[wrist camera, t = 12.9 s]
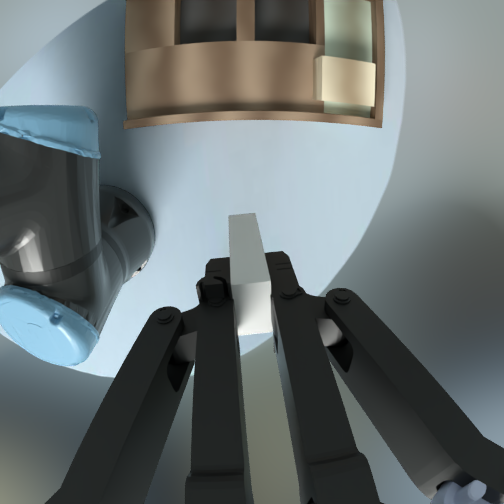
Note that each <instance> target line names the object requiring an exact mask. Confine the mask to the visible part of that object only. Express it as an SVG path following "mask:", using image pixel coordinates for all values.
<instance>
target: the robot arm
mask: <svg viewBox="0 0 504 504" xmlns="http://www.w3.org/2000/svg"><path fill="white" fill-rule="evenodd" d="M100 158H101V153H100V152H99V142H98V119H97V116H96V114H95V113H94V112H93V111H92V110H91V109H90V108H87V107H85V106H69V105H23V106H3V107H0V265H1V269H2V272H3V276H4V279H5V285H4V286H2V287H1V288H0V324H1V326H2V327H3V329H4V330H5V331H6V333H7V334H8V335H9V336H10V337H11V338H12V339H13V340H14V341H15V342H16V343H17V344H18V345H19V346H21V347H22V348H23V349H25V350H26V351H28V352H29V353H31V354H32V355H34V356H36V357H38V358H40V359H42V360H44V361H47V362H49V363H52V364H56V365H60V366H75V365H78V364H79V363H82V362H84V361H85V360H86V359H87V358H88V357H89V355H90V354H91V352H92V350H93V349H94V347H95V345H96V344H97V343H98V341H99V338H100V337H99V336H100V333H101V331H102V329H103V326H104V324H105V322H106V320H107V317H108V315H109V313H110V311H111V308H112V306H113V304H114V302H115V300H116V298H117V296H118V293H119V291H120V289H121V287H122V285H123V284H124V283H126V282H127V281H129V280H130V279H131V278H132V277H134V276H135V275H137V274H138V273H139V272H140V271H141V270H142V269H143V268H144V267H145V265H146V264H147V262H148V260H149V258H150V256H151V253H152V251H153V247H154V241H155V234H154V228H153V224H152V221H151V218H150V216H149V214H148V212H147V211H146V209H145V208H144V206H143V205H142V204H141V203H140V202H139V201H138V200H137V199H136V198H135V197H134V196H133V195H131V194H130V193H128V192H126V191H125V190H122V189H120V188H117V187H114V186H107V185H100V186H99V159H100ZM229 247H230V257H226V258H215V259H210V260H209V262H208V263H207V264H206V270H205V277H203V278H201V279H200V280H199V281H198V282H197V284H196V289H197V294H198V298H199V305H198V306H197V307H195V308H193V309H191V310H188V311H185V312H182V313H181V312H180V310H179V309H177V308H175V307H171V306H170V307H162V308H159V309H157V310H156V311H154V312H153V313H152V314H151V315H150V317H149V319H148V320H147V322H146V324H145V325H144V327H143V329H142V331H141V332H140V334H139V336H138V337H137V339H136V341H135V343H134V344H133V346H132V348H131V350H130V352H129V353H128V355H127V357H126V359H125V360H124V362H123V364H122V366H121V368H120V370H119V371H118V373H117V375H116V377H115V379H114V381H113V383H112V384H111V386H110V388H109V390H108V392H107V394H106V395H105V398H104V399H103V402H102V403H101V405H100V407H99V409H98V411H97V413H96V415H95V417H94V419H93V421H92V423H91V425H90V427H89V429H88V431H87V433H86V435H85V437H84V439H83V441H82V443H81V445H80V447H79V449H78V451H77V453H76V455H75V458H74V459H73V462H72V464H71V466H70V468H69V471H68V473H67V475H66V477H65V479H64V481H63V484H62V486H61V488H60V489H59V490H58V491H57V492H56V493H55V494H54V495H53V496H52V497H51V498H50V499H49V500H48V501H47V502H46V503H45V504H144V502H145V499H146V496H147V493H148V490H149V487H150V485H151V482H152V479H153V476H154V473H155V471H156V468H157V465H158V462H159V459H160V456H161V453H162V451H163V448H164V445H165V442H166V440H167V437H168V434H169V431H170V428H171V426H172V423H173V420H174V417H175V415H176V412H177V409H178V406H179V404H180V401H181V398H182V396H183V393H184V390H185V387H186V385H187V382H188V379H189V377H190V374H191V371H192V368H193V366H194V363H195V371H194V389H193V413H192V444H191V471H190V474H189V475H188V476H187V478H186V483H185V484H186V485H185V504H254V500H253V494H252V486H251V476H250V466H249V456H248V445H247V434H246V422H245V410H244V399H243V386H242V374H241V361H240V347H239V339H238V336H239V335H249V334H259V333H268V332H273V336H274V353H275V352H276V357H277V362H278V368H279V373H280V378H281V384H282V390H283V396H284V401H285V407H286V413H287V418H288V424H289V429H290V435H291V441H292V446H293V452H294V458H295V463H296V469H297V475H298V481H299V491H300V502H301V504H384V503H381V502H380V500H379V497H378V493H377V490H376V486H375V483H374V479H373V476H372V472H371V469H370V466H369V463H368V461H367V458H366V457H365V455H364V454H362V453H360V452H359V451H358V449H357V447H356V444H355V440H354V437H353V434H352V431H351V427H350V424H349V421H348V418H347V414H346V411H345V408H344V405H343V402H342V398H341V395H340V392H339V389H338V386H337V383H336V380H335V377H334V374H333V371H332V368H331V365H330V362H331V363H332V365H333V366H334V368H335V369H336V370H337V372H338V373H339V375H340V376H341V378H342V379H343V381H344V382H345V384H346V385H347V386H348V388H349V390H350V391H351V393H352V394H353V395H354V397H355V398H356V400H357V401H358V403H359V404H360V406H361V407H362V409H363V410H364V411H365V413H366V414H367V416H368V417H369V419H370V420H371V422H372V423H373V425H374V426H375V428H376V429H377V430H378V432H379V433H380V435H381V436H382V438H383V439H384V441H385V442H386V443H387V445H388V447H389V448H390V450H391V451H392V453H393V454H394V455H395V457H396V458H397V460H398V461H399V463H400V464H401V466H402V467H403V469H404V470H405V472H406V473H407V475H408V476H409V477H410V479H411V480H412V481H413V483H414V484H415V485H416V486H417V488H418V489H419V490H420V491H421V492H422V493H423V494H425V495H426V496H427V497H428V498H429V499H431V500H432V501H431V503H430V504H503V503H504V448H502V447H501V446H499V445H497V444H495V443H494V442H492V441H490V440H488V439H487V438H485V437H483V435H482V434H481V433H480V432H479V430H478V429H477V428H476V427H475V426H474V424H473V423H472V422H471V421H470V419H469V418H468V417H467V416H466V415H465V413H464V412H463V411H462V410H461V409H460V407H459V406H458V405H457V404H456V403H455V402H454V400H453V399H452V398H451V397H450V396H449V395H448V393H447V392H446V391H445V390H444V389H443V388H442V386H440V384H439V383H438V382H437V381H436V380H435V378H434V377H433V376H432V375H431V374H430V373H429V372H428V371H427V369H426V368H425V367H424V366H423V365H422V364H421V363H420V362H419V361H418V359H417V358H416V357H415V356H414V355H413V354H412V353H411V352H410V351H409V349H408V348H407V347H406V346H405V345H404V344H403V343H402V342H401V341H400V340H399V339H398V338H397V336H396V335H395V334H394V333H393V332H392V331H391V330H390V329H389V328H388V327H387V326H386V325H385V324H384V323H383V322H382V321H381V319H380V318H379V317H378V316H377V315H376V314H375V313H374V312H373V311H372V310H371V309H370V308H369V307H368V306H367V305H366V304H365V303H364V302H363V301H362V300H361V299H360V297H359V296H358V295H356V294H355V293H354V292H353V291H351V290H348V289H346V288H336V289H332V290H330V291H329V292H328V293H327V294H326V297H318V296H312V295H309V294H307V293H306V292H305V291H304V289H303V288H302V287H300V286H299V284H298V281H297V278H296V275H295V273H294V270H293V267H292V264H291V261H290V258H289V256H288V255H287V254H285V253H284V252H283V251H279V252H269V253H264V249H263V245H262V240H261V236H260V232H259V228H258V223H257V219H256V215H255V213H249V214H239V215H229ZM272 328H273V329H272ZM329 360H330V362H329Z"/></svg>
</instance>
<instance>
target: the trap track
mask: <svg viewBox="0 0 504 504" xmlns="http://www.w3.org/2000/svg"><path fill="white" fill-rule="evenodd" d="M320 56H330V57H338V58H345V59H351V60H357V61H363V62H368V63H374V64H375V99H374V107H373V106H366V105H358V104H350V103H342V102H332V101H321V100H312V96H313V59H316V58H318V57H320ZM384 77H385V36H384V12H383V0H126V17H125V86H126V106H127V120H125V121H123V127H124V129H130V128H138V127H146V126H154V125H163V124H174V123H186V122H200V121H220V120H295V121H315V122H329V123H341V124H351V125H361V126H369V127H377V128H382V119H383V103H384Z"/></svg>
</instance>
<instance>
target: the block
mask: <svg viewBox="0 0 504 504" xmlns="http://www.w3.org/2000/svg"><path fill="white" fill-rule="evenodd" d="M374 99H375V64H374V63H368V62H363V61H357V60H351V59H345V58H338V57H330V56H320V57H318V58H316V59H313V96H312V100H321V101H332V102H342V103H350V104H358V105H366V106H373V107H374Z"/></svg>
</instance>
